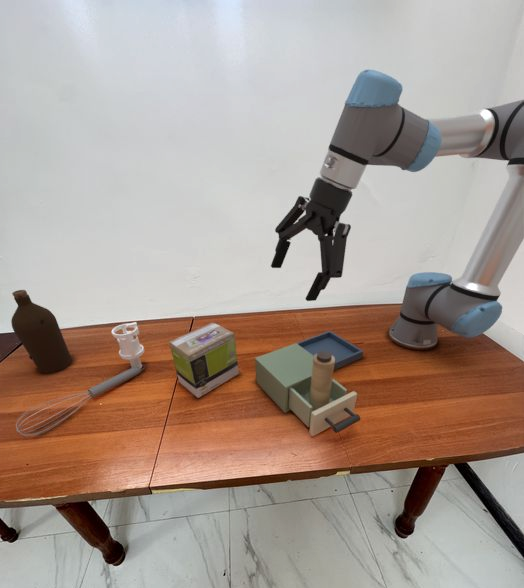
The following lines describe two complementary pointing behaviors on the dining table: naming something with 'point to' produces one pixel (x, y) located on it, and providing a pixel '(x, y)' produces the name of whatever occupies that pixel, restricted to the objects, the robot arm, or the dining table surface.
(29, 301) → the olive oil
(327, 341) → the tray
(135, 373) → the kitchen whisk
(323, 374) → the pepper mill
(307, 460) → the dining table surface
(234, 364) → the tea box
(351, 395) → the drawer
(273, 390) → the cabinet
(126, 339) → the strainer
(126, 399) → the dining table surface
